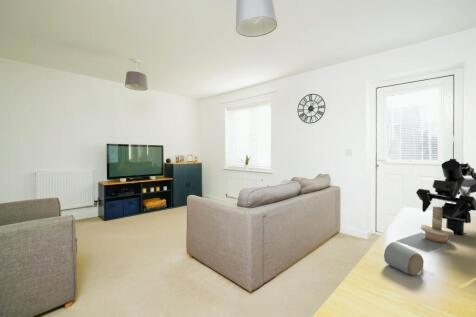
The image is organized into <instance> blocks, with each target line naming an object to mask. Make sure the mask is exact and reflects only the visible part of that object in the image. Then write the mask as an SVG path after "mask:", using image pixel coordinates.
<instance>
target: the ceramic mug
mask: <svg viewBox="0 0 476 317" xmlns="http://www.w3.org/2000/svg"><path fill="white" fill-rule="evenodd" d="M385 247H386V248H385V249H384V254H383V259H384V262H385V263H386V264H387V265H389V266H391V267H393V268H396V269H398V270H400V271H401V272H402V273H405V274H408V275H410V276H418V275H419V273H420V272H421V271H422V270H423V268H424V263H425V262H424V258H423V256H422V255H421V254H420V253H419V252H417V251H415V250H413V249H411V248H408V247H406V246H405V245H404V244H402V243H400V242H397V241H391V242H390V243H388V244H387V245H386V246H385Z"/></svg>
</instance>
